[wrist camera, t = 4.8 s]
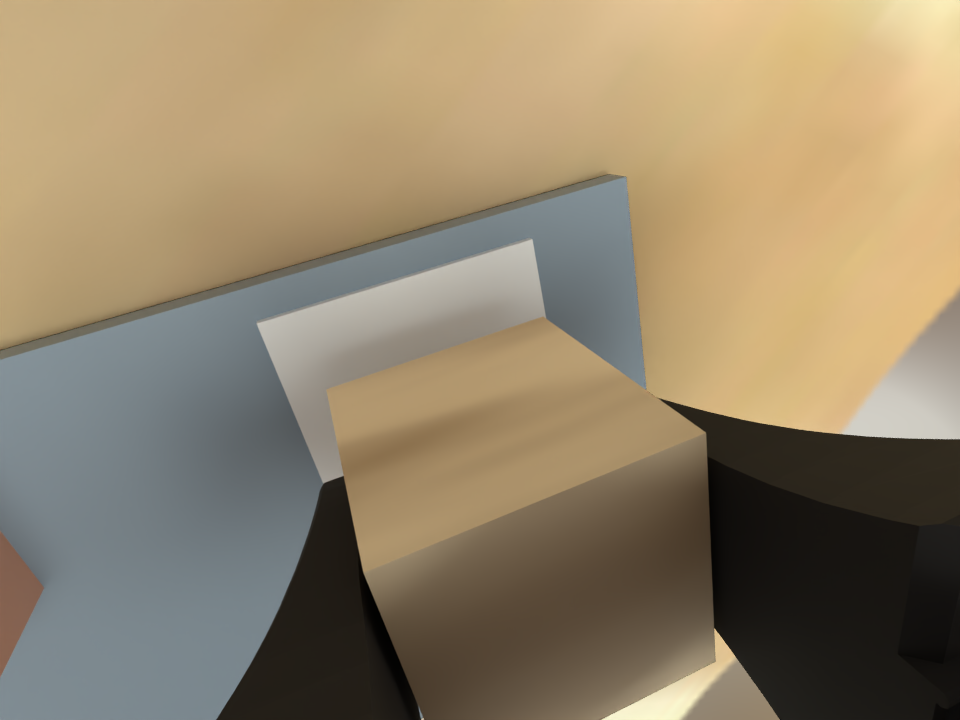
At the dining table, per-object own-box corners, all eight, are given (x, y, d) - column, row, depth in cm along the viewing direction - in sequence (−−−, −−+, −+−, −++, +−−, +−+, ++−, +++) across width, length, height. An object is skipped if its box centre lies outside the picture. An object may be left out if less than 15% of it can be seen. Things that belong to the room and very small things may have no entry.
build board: (653, 586, 21) (669, 606, 20) (2, 889, 17) (-13, 932, 16) (609, 174, 15) (630, 177, 14) (-481, 489, 10) (-553, 524, 9)
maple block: (572, 488, 14) (715, 661, 9) (392, 562, 13) (454, 793, 8) (542, 316, 12) (705, 432, 7) (326, 389, 11) (363, 572, 6)
